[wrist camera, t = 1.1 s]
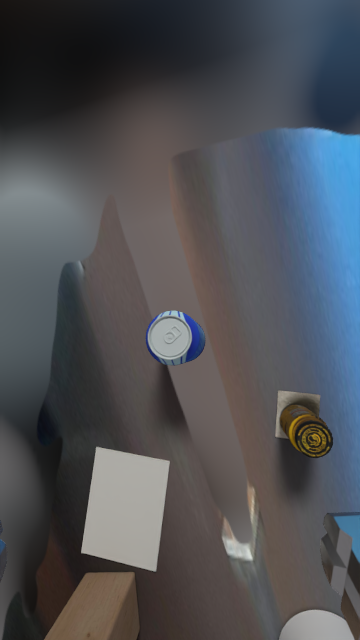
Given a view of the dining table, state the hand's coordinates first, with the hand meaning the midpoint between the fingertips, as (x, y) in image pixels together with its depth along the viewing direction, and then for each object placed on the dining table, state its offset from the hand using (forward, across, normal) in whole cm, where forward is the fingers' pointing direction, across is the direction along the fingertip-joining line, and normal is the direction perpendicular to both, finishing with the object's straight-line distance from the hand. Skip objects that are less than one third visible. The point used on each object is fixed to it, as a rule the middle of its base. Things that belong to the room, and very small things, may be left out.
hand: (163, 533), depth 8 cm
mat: (+41, -10, -43) cm, 60 cm away
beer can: (+51, +2, -12) cm, 52 cm away
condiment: (+43, +22, -24) cm, 54 cm away
